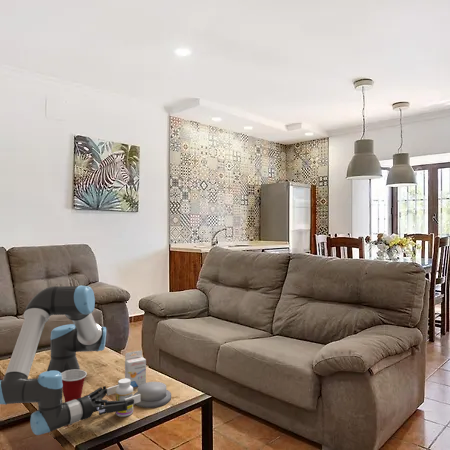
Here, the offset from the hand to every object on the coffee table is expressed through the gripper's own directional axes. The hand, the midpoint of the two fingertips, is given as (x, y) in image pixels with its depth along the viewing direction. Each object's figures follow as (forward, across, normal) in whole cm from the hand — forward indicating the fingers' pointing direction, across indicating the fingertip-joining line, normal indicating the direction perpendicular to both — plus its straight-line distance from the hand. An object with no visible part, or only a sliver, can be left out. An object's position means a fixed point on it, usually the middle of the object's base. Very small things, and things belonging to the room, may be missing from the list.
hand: (130, 392), depth 158 cm
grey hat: (+12, -3, -7) cm, 15 cm away
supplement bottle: (-3, 0, -8) cm, 8 cm away
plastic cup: (-13, -23, -8) cm, 28 cm away
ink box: (+15, -21, -8) cm, 27 cm away
